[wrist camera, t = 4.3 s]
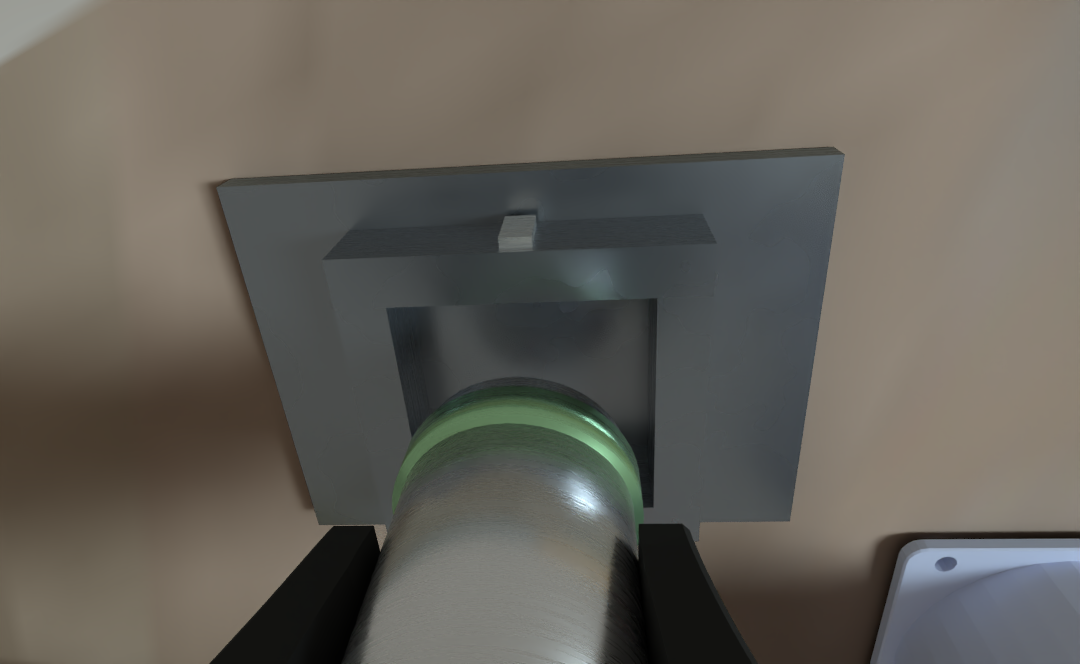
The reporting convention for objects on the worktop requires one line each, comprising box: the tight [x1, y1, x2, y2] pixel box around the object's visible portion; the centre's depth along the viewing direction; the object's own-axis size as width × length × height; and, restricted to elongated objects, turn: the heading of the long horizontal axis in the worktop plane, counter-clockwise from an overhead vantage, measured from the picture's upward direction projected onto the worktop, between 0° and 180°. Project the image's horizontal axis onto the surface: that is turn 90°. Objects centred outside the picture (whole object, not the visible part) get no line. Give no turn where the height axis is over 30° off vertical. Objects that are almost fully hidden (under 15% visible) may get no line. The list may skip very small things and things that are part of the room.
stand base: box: [216, 147, 845, 541], centre depth 14 cm, size 12×9×2 cm
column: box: [341, 377, 648, 664], centre depth 9 cm, size 4×4×6 cm
